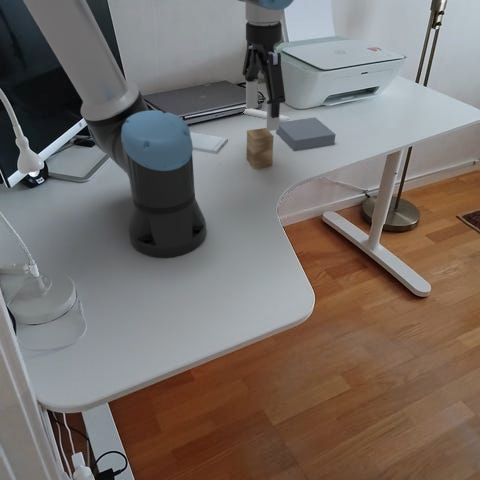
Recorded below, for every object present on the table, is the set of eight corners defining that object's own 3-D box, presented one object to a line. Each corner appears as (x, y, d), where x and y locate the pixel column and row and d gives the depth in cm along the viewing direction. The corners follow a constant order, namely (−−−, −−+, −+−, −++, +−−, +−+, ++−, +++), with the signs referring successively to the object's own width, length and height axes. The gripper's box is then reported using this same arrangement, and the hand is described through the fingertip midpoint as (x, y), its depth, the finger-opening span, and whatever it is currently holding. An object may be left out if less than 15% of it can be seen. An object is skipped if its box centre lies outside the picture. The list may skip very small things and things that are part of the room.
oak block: (253, 168, 111) (254, 139, 107) (246, 159, 115) (246, 130, 110) (272, 165, 113) (273, 136, 108) (264, 156, 116) (265, 127, 112)
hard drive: (173, 143, 120) (216, 150, 117) (186, 130, 126) (228, 137, 123) (174, 148, 121) (216, 155, 118) (187, 136, 127) (228, 142, 124)
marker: (293, 123, 134) (294, 115, 133) (290, 126, 133) (291, 118, 131) (241, 111, 141) (241, 104, 140) (238, 113, 140) (238, 106, 138)
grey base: (293, 151, 119) (294, 140, 117) (276, 132, 128) (276, 122, 126) (334, 144, 122) (335, 134, 120) (314, 127, 131) (315, 117, 129)
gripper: (306, 34, 85) (298, 137, 99) (259, 7, 104) (257, 97, 117) (269, 37, 84) (266, 142, 97) (228, 10, 102) (230, 101, 115)
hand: (261, 118), depth 107 cm, fingers open, 13 cm apart
